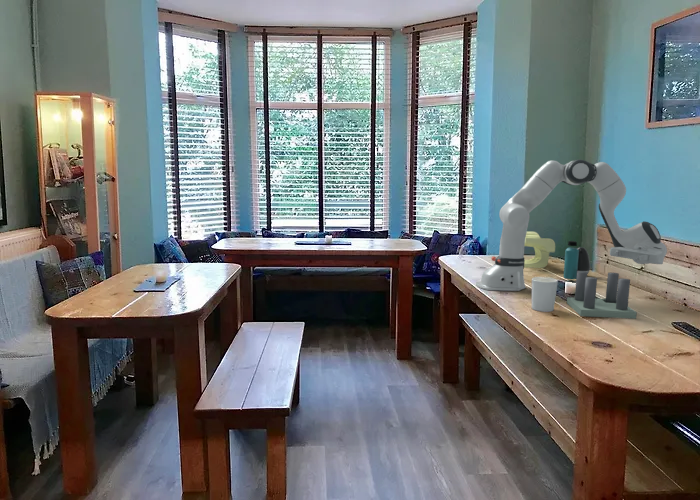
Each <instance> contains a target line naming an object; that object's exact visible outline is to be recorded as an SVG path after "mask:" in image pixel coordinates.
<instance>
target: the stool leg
mask: <svg viewBox="0 0 700 500" xmlns="http://www.w3.org/2000/svg"><path fill="white" fill-rule="evenodd" d="M619 276H620V274H619V273H618V272H613V271H612V272H608V273H607V280H606V291H605V299H606V300H605V302H606V303H616V300H617V291H618V280H619V279H620V278H619Z"/></svg>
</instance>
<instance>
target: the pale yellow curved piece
mask: <svg viewBox="0 0 700 500" xmlns="http://www.w3.org/2000/svg"><path fill="white" fill-rule="evenodd" d="M524 247H531V248H533V249H534V253H535V254H534V257H533V258H529V259H525V261H524V269H527V268H528V269H529V268H530V269H532V268H534V269H536V268H537V269H543V268H546V267H547V266H548V264H549V259H550V253H556V242H555V241H554V239H552V238H550V237H549V238H546V237H545V238H544V237H541V236H540V235H539V233H538V232H537V231H527V233H526V237H525V245H524Z"/></svg>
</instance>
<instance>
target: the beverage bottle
mask: <svg viewBox="0 0 700 500" xmlns="http://www.w3.org/2000/svg"><path fill="white" fill-rule="evenodd" d="M567 243H568V244H567V246H570V247H567V248H566V249H565V250H564V251H565V252H564V263H563V274H562V275H563V278H564V279H566V280H576V277H577V270H578V254H579V250H578V249H577V248H578V247H577V246H578V241H575V240H568V241H567Z"/></svg>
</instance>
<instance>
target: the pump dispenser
mask: <svg viewBox="0 0 700 500" xmlns="http://www.w3.org/2000/svg"><path fill="white" fill-rule="evenodd" d="M576 248H577V249H578V250H579V254H578V270H577V272H578V271H583V272H587V273H588V274H589V272H590V271H591V261H590V255H589V252H588V251H587V249H586V248H585V247H582V246H579V247H576Z"/></svg>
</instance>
